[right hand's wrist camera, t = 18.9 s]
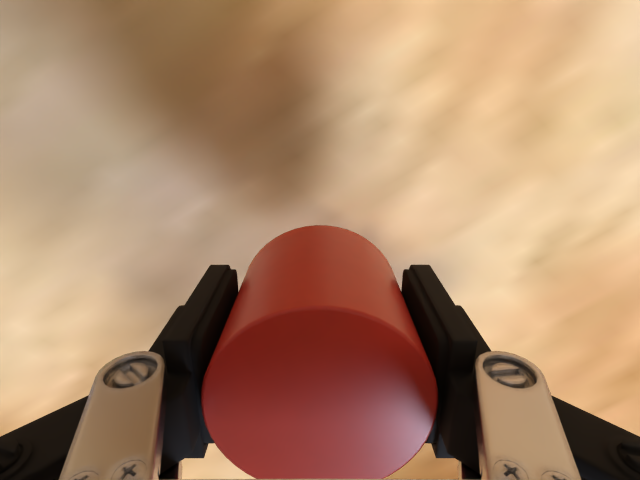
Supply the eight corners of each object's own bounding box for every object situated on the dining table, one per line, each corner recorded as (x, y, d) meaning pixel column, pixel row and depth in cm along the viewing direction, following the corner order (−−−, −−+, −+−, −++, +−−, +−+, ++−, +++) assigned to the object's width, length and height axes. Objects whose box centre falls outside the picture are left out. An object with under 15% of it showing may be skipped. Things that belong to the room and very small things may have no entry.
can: (374, 370, 14) (400, 509, 9) (233, 346, 13) (188, 477, 9) (415, 242, 12) (474, 333, 7) (256, 209, 12) (214, 284, 7)
